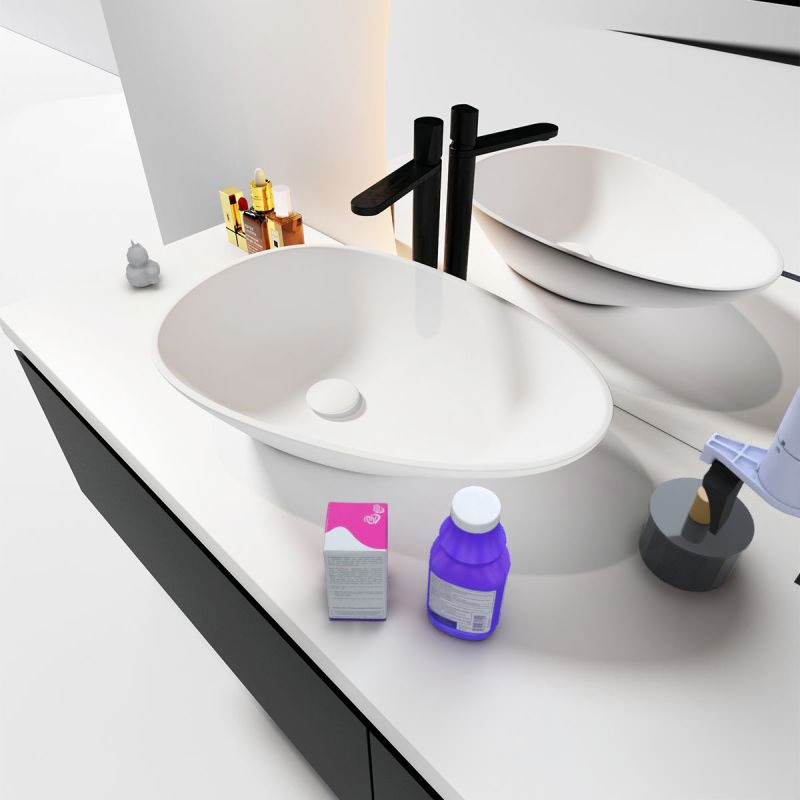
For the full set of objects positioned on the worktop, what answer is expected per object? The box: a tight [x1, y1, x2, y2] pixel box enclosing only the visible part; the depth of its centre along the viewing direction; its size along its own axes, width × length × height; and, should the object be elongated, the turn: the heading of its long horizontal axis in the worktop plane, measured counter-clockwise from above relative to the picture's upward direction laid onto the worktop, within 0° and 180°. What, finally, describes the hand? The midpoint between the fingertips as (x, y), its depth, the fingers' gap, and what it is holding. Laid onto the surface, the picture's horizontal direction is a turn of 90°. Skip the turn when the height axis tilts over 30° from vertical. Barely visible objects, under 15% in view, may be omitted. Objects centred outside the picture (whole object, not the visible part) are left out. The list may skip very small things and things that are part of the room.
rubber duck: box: [125, 239, 161, 288], centre depth 111 cm, size 5×7×8 cm
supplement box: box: [322, 501, 389, 622], centre depth 66 cm, size 6×6×12 cm
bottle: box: [426, 485, 511, 641], centre depth 63 cm, size 7×6×17 cm
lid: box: [648, 477, 756, 560], centre depth 69 cm, size 10×10×4 cm
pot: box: [638, 510, 744, 593], centre depth 72 cm, size 9×9×6 cm
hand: (758, 551), depth 62 cm, fingers open, 7 cm apart
